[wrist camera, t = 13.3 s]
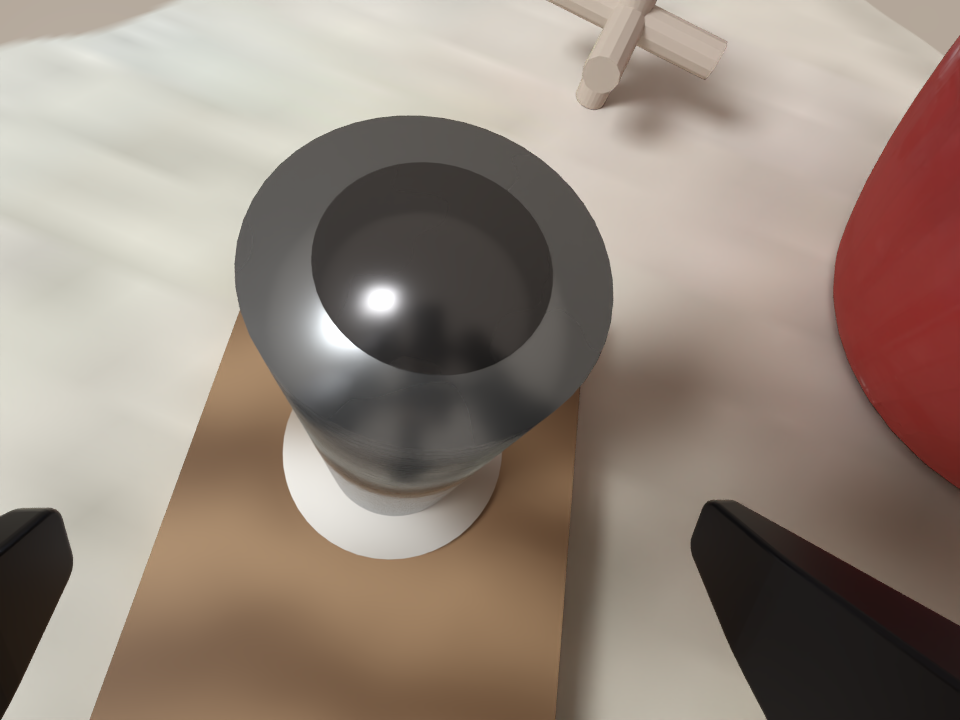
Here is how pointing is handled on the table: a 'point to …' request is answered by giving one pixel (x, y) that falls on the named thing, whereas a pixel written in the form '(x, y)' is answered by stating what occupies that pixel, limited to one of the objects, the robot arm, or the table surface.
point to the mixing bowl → (910, 276)
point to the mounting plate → (343, 580)
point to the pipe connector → (638, 43)
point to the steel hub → (420, 300)
